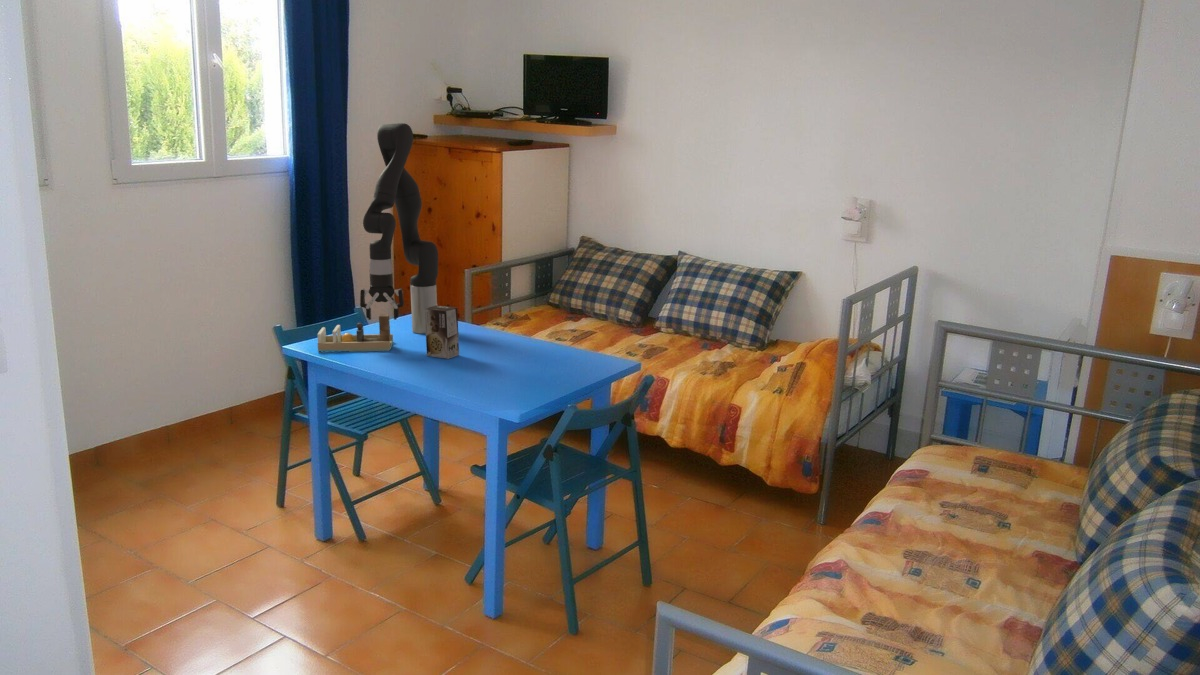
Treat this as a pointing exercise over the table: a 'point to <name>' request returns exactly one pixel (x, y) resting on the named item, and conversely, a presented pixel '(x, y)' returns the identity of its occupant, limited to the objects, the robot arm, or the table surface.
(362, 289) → the robot arm
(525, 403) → the table surface
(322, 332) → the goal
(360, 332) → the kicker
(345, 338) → the ball
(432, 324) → the coffee box
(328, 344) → the tan tray
